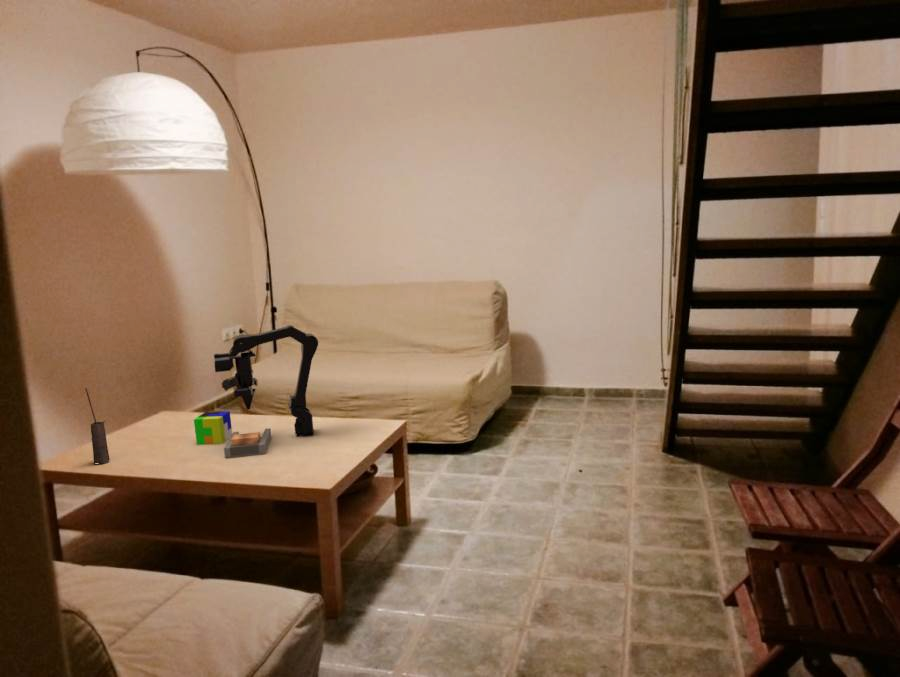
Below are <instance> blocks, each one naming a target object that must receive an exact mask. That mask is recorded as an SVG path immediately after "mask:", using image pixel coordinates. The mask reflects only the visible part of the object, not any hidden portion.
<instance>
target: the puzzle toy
mask: <svg viewBox="0 0 900 677" xmlns="http://www.w3.org/2000/svg"><path fill="white" fill-rule="evenodd" d="M193 423H194V424H193V425H194V431H195V432H194V433H195V440H196V441H195V442H196V445H222V444H223V443H225V442H226V441H228V440H229V439H230V437H231V435H232V433H233V427H232V419H231V412H230V411H205V412H204V413H202V414H200V415H199V416H197V417H196V418H194V419H193Z"/></svg>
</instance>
